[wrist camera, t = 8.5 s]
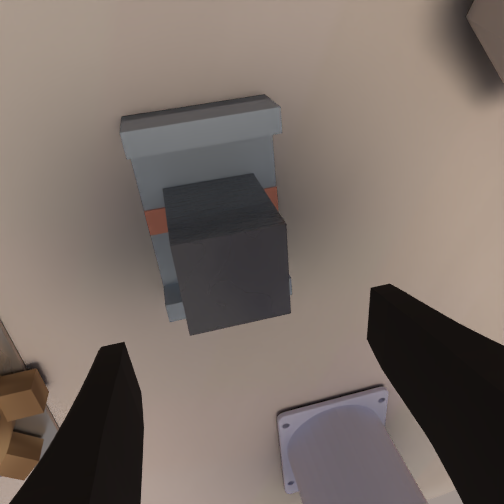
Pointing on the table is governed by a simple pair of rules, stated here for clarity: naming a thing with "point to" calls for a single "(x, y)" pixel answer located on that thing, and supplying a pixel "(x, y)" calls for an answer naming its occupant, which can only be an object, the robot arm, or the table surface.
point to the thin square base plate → (41, 425)
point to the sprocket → (16, 407)
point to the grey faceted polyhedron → (489, 29)
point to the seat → (197, 161)
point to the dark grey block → (227, 252)
